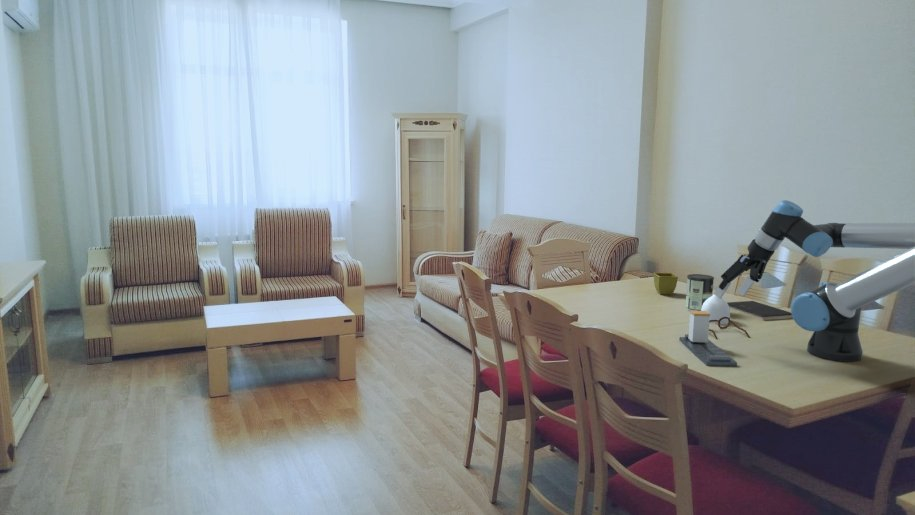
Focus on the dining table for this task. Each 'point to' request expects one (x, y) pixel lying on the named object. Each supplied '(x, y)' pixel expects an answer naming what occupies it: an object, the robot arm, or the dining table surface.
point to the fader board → (708, 352)
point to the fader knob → (699, 326)
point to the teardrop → (716, 309)
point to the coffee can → (698, 291)
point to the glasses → (726, 326)
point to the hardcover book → (759, 310)
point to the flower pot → (665, 283)
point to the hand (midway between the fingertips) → (728, 295)
